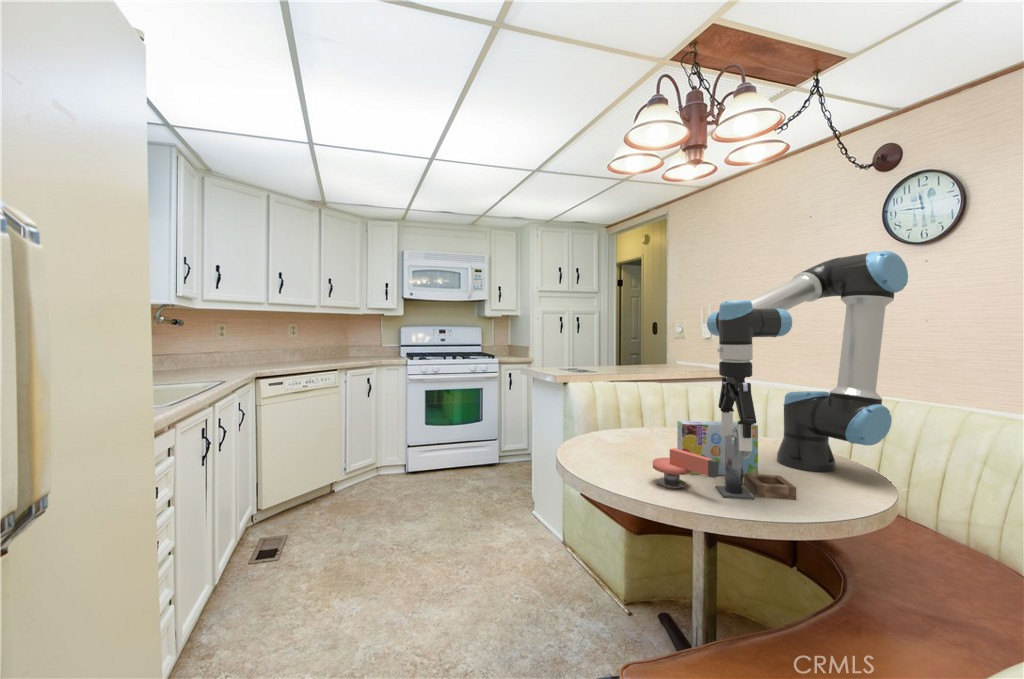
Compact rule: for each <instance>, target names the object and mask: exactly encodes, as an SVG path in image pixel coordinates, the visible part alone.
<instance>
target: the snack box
mask: <svg viewBox="0 0 1024 679" xmlns="http://www.w3.org/2000/svg"><path fill="white" fill-rule="evenodd" d="M676 428H677V430H676V431H677V432H676V434H677V438H676V440H677V443H676V444H677V447H676V449H679V450H683V451H686V452H690V453H693V454H697V455H700V456H704V457H707V458H711V459H714V460H718V461H719V476H725V459H726V437H722V436H721V421H720V420H718V421H717V420H716V421H715V420H677V427H676ZM733 435H734V436H739V424H738V421H733ZM744 474H759V425H758V424H753V425H752V451H743V477H744ZM688 475H700V474H699V473H696V472H693V471H692V472H691V473H689V474H688Z"/></svg>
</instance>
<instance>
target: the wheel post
mask: <svg viewBox="0 0 1024 679" xmlns="http://www.w3.org/2000/svg"><path fill="white" fill-rule="evenodd" d="M680 476H681V475H673V474H666V473H663V477H660V478H659V479H658V480H657V481H658V482H657V483H658V485H659V486H661V487H664V488H666V489H670V490H671V489H672V490H680V489H684V488H686V482H685V481H683V480H682V479H681V477H680Z"/></svg>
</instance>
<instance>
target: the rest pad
mask: <svg viewBox="0 0 1024 679" xmlns="http://www.w3.org/2000/svg"><path fill="white" fill-rule="evenodd" d="M714 488H715V489H716V490H717V493H719V494H720V495H721V497H722V498H724V499H734V500H735V499H739V500H752V501H755V498H754V496H753V495H752V493H750V492H749V491H748V490H747V489H746V488H745V487H744V486H743V493H742V494H732V493H729V492H727V491H725V485H714Z"/></svg>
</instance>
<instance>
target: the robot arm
mask: <svg viewBox="0 0 1024 679" xmlns="http://www.w3.org/2000/svg"><path fill="white" fill-rule="evenodd" d="M908 281H909V273H908V268H907V265H906V263H905V261H904V260H903V258H902V257H901V256H900V255H899V254H898V253H896V252H894V251H891V250H882V251H870V252H867V253H860V254H854V255H848V256H842V257H836V258H831V259H828V260H826V261H823V262H821V263H818V264H815V265H814V266H812V267H810V268H808V269H804V271H801V272H799V273H797V274H796V275H794V276H793V277H792V279H791V280H789V281H787V282H785V283H783V284H780V285H778V286H777V287H776V286H775V287H774V288H772V289H770V290H768V291H765V292H763V293H761V294H760V295H756V296H754V297H752V298H751V299H748V300H745V299H743V300H728V301H727V300H726V301H723V302H720V304H719V309H718V311H713V312H712V313H710V314H709V316H708V318H707V320H706V327H707V330H708V331H709V333H710V334H711V335H713V336H716V337H718V339H719V342H718V343H719V344H718V346H719V347H718V348H717V349H716V350H717V352H718V354H719V356H718V357H719V360H721V361H720V362H718V365H719V366H718V369H719V370H718V371H719V372H718V373H719V376H721V377H722V378H721V388H720V392H719V394H720V395H719V399H718V401H719V402H718V408H719V410H720V412H721V415H720V416H721V436H722V437H726V436H727V435H733V422H734V412H735V410H734V404H735V406H736V409H737V415H738V417H739V420H738V421H737V422H738V424H739V450H740V451H752V425H753V424H755V425H757V418H756V417H757V416H756V411H755V407H754V405H755V404H754V401H753V395H752V385H751V382H746V378H751V377H752V376H753V363H752V362H751V360H753V358H754V357H753V349H754V348H753V338H777V337H784V336H786V335H787V334H788V333H789V332H790V331H791V329H792V327H793V317H792V314H790V312H789V311H788V310H790V309H792V308H794V307H796V306H798V305H800V304H802V303H805V302H807V303H811V302H814V301H817V300H819V299H823V298H829V297H840V301H841V302H843V303H844V304H845V305H846V309H845V315H844V316H845V317H844V325H843V332H842V342H841V350H840V358H839V367H838V374H837V375H838V376H837V377H838V378H837V385H836V387H835V388H833V389H832V390H830V391H820V390H818V391H817V390H816V391H815V390H814V391H789V392H787V393H786V394H785V395H784V399H783V400H784V402H783V438H782V440H781V443H780V445H779V448H778V450H777V453H776V461H777V462H778V464H779V463H780V464H781V465H783V466H786V467H790V468H794V469H797V470H798V469H799V470H802V471H809V472H818V473H819V472H821V473H822V472H823V473H824V472H833V471H835V470H836V460H835V457H834V454H833V452H832V448H831V445H830V442H829V440H830V439H829V438H832V439H835V440H840V441H844V442H848V443H850V444H855V445H862V446H874V445H877V444H879V443H881V441H882V440H884V439H885V438H886V437H887V436H888V434H889V432H890V430H891V427H892V423H893V422H892V421H893V420H892V415H891V412H890V409H888V407H886V406H885V405H883V404H882V403H883V397H882V396H880V395H879V394H878V393H877V385H878V376H879V366H880V359H881V349H882V343H883V342H882V341H883V340H882V339H883V332H884V326H885V325H884V322H885V315H886V307H887V306H888V305H890V304H891V303H892V302H894V301H895V300H894V299H895V293H899V292H901V291H903V290H904V289H905V287H906V286H907V284H908Z"/></svg>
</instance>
